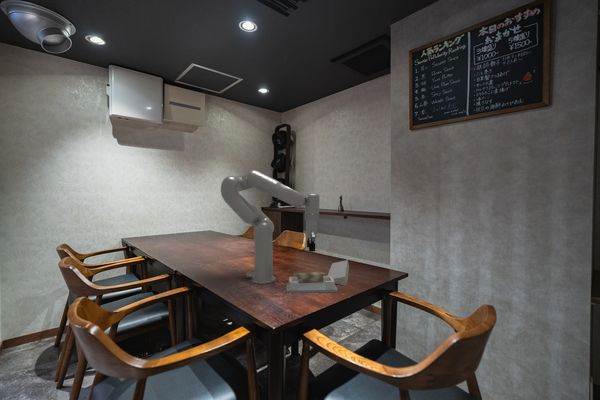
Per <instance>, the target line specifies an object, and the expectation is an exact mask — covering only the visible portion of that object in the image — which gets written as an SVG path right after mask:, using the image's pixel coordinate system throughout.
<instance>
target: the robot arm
mask: <svg viewBox="0 0 600 400" xmlns="http://www.w3.org/2000/svg"><path fill="white" fill-rule="evenodd" d="M254 188H255V189H257V190H260V191H261V192H263V193H265V194H267V195H269V196H271V197H274V198H275V199H278V200H279V201H282V202H284V203H286V204H288V205H290V206H292V207H294V208H302V207H304V220H306V222H305V233H304V234H305V238H306V239H307V240H306V247H307V248H308V251H309V252H316V239H317V231H318V230H317V229H318V227H317V226H318V225H317V223H318V221H319V219H320V194H318V193H302V192H299V191H296V190H295V189H292V188H291V187H289V186H287V185H285V184H283V183H282V182H280V181H278V180H277V179H275V178H273V177H271V176H269V175H267V174H265V173H263V172H261V171H259V170H257V169H250V170H249V171H247V173H245V174H242V175H237V176H234V175H228V176H226V177H225V178H224V179H223V180H222V182H221V185H220V195H221V198H222V199H223V202H225V204H226V205H227V206H229V208H230V209H232V211H233V212H234V213H235V214H236V215H237V216H238V217H239V218H240V219H241V220H242V221H243V223H245V224H248V225H251V226H253V241H254V246H253V248H254V250H253V251H254V271H252V272H249V271H247V272H245V276H246V277H247V278H251V279H250V280H251V282H252V283H254V284H257V285H259V284H260V285H266V284H271V283H274V282H275V281H276V276H274V275H273V271H274V270H273V269H274V268H273V266H274V265H273V260H274V259H273V258H274V257H273V254H274V253H273V252H274V251H273V250H274V249H273V247H274V246H273V241H274V240H273V239H274V238H273V234H274V233H273V232H274V231H275V224H274V222H273V221H272V220H271V219H270V218H269V217H268V216H267V214H265V213H264V212H263V210H261V209H260V208H259V207H258V206H256V205H253V204H251V203H250V202H249V201H247V199H246V198H245V197H244V196H243V195H241V194H240V192H243V191H246V190H249V189H254Z"/></svg>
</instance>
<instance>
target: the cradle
mask: <svg viewBox="0 0 600 400" xmlns="http://www.w3.org/2000/svg"><path fill="white" fill-rule="evenodd" d="M285 288H286V293H288V294H289V293H294V294H295V293H297V294H298V293H301V294H302V293H338V292H339V290H338V287H337V286H336V283H335V281H334V280H333V278H332V276H328V275H326V276H323V281H322V282H298V277H293V276H289V277H288V283H287V282H286V286H285Z"/></svg>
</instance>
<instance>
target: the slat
mask: <svg viewBox="0 0 600 400" xmlns="http://www.w3.org/2000/svg"><path fill="white" fill-rule="evenodd" d="M325 274H326V273H324V271H320V272H319V271H316V272H315V271H314V272H293V276H292V277H298V282H299V283H322V282H323V276H325Z"/></svg>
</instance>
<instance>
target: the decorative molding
mask: <svg viewBox="0 0 600 400" xmlns="http://www.w3.org/2000/svg"><path fill="white" fill-rule="evenodd" d="M349 270H350V264H349V260H348V259H347V260H342V261H341V260H340V261H337V262H332V263H331V266H330V268H329V270H328V274H327V276H332V278H333V280H334V281H335V285H341V286H346V287H347V285H348V280H349V272H350V271H349Z"/></svg>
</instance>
